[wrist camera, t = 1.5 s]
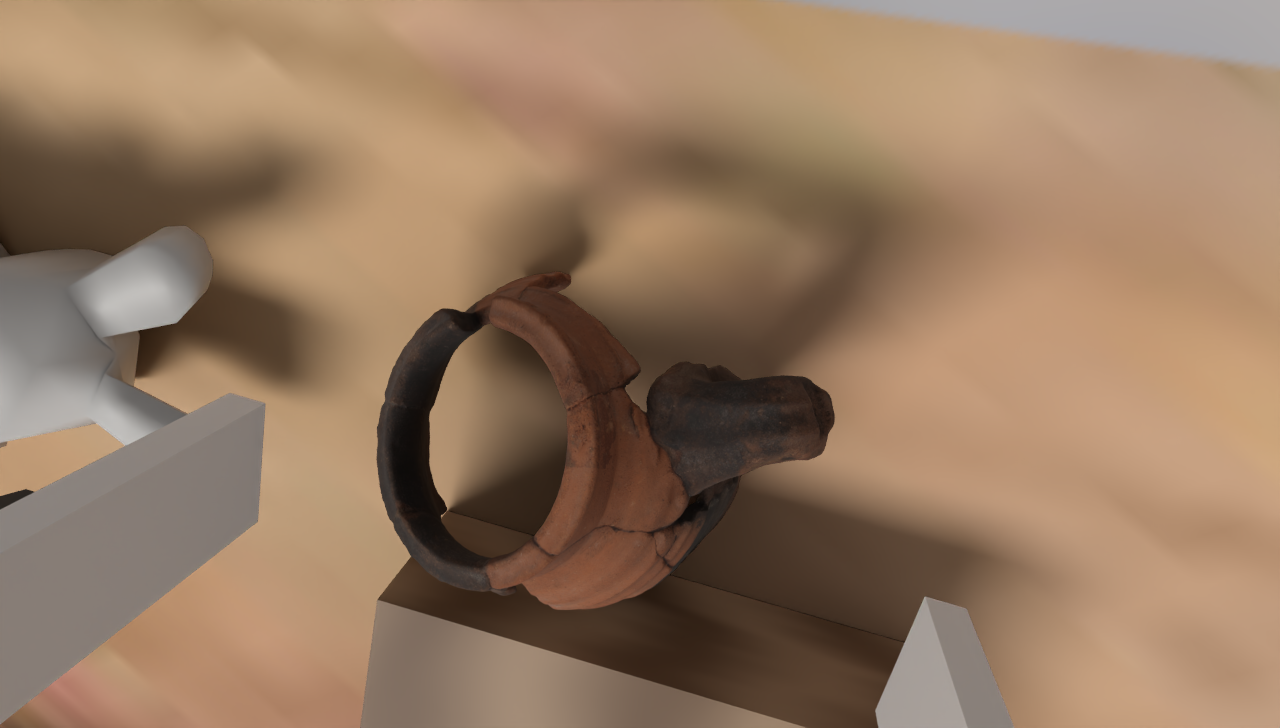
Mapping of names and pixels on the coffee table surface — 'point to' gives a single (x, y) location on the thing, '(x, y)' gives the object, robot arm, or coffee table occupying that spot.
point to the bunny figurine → (91, 332)
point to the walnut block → (610, 657)
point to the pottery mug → (593, 452)
